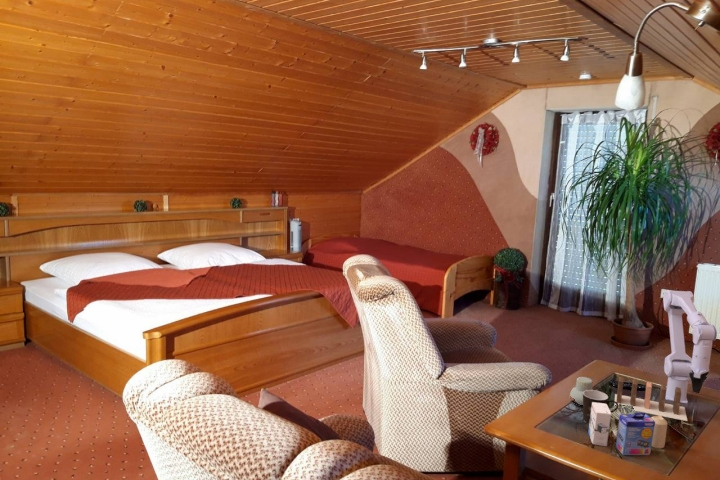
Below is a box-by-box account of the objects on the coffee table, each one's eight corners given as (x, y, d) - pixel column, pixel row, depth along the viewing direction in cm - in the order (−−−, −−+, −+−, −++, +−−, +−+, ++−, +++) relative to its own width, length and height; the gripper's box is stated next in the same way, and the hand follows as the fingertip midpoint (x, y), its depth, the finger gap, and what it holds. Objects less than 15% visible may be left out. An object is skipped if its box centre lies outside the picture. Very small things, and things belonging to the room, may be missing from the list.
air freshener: (575, 396, 233) (577, 372, 232) (596, 401, 229) (599, 377, 227) (567, 405, 225) (569, 381, 223) (589, 411, 220) (592, 386, 218)
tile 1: (673, 414, 219) (676, 391, 218) (672, 408, 224) (675, 386, 222) (678, 414, 218) (681, 392, 217) (677, 409, 223) (680, 387, 221)
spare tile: (644, 408, 223) (647, 386, 222) (644, 403, 228) (646, 381, 226) (648, 409, 223) (651, 387, 221) (648, 404, 227) (651, 382, 226)
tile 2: (658, 411, 221) (661, 389, 220) (658, 406, 226) (661, 384, 224) (663, 412, 220) (666, 389, 219) (662, 406, 225) (665, 385, 223)
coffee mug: (576, 420, 212) (579, 394, 211) (585, 412, 219) (588, 387, 217) (608, 431, 205) (611, 405, 203) (617, 423, 211) (620, 397, 209)
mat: (614, 394, 236) (615, 393, 236) (684, 407, 225) (684, 407, 225) (614, 407, 224) (614, 406, 224) (687, 421, 214) (687, 420, 214)
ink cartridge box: (623, 456, 188) (627, 414, 186) (614, 447, 194) (618, 407, 191) (651, 455, 189) (657, 414, 187) (642, 446, 194) (647, 406, 192)
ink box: (587, 432, 203) (591, 401, 201) (603, 434, 202) (606, 403, 200) (592, 444, 195) (595, 412, 193) (608, 446, 194) (611, 414, 192)
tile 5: (616, 402, 227) (618, 381, 226) (616, 398, 232) (619, 376, 230) (620, 403, 227) (623, 382, 225) (621, 398, 231) (623, 377, 230)
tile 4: (630, 405, 225) (632, 383, 224) (630, 400, 230) (632, 379, 228) (634, 406, 225) (637, 384, 223) (634, 401, 229) (637, 380, 228)
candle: (649, 438, 200) (653, 411, 199) (666, 444, 197) (670, 417, 195) (643, 443, 197) (647, 416, 195) (661, 450, 193) (664, 422, 191)
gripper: (691, 348, 223) (687, 381, 225) (686, 358, 211) (681, 393, 213) (712, 352, 219) (708, 386, 221) (708, 363, 207) (703, 398, 209)
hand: (696, 390), depth 217 cm, fingers open, 4 cm apart
